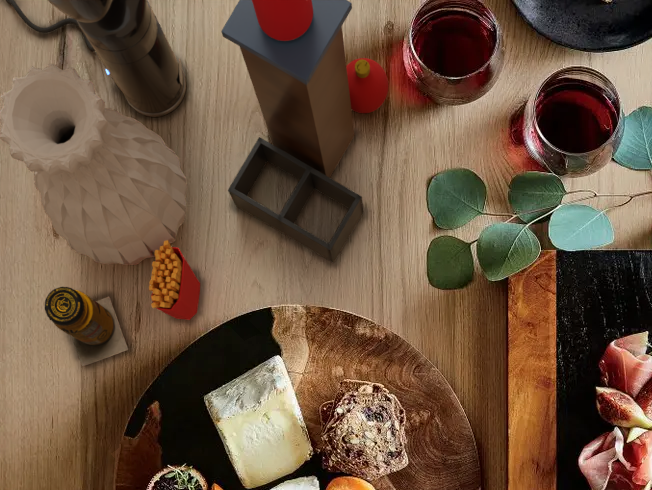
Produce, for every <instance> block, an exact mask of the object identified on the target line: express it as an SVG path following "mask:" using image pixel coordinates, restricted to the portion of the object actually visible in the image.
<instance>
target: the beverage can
mask: <svg viewBox="0 0 652 490" xmlns="http://www.w3.org/2000/svg"><path fill="white" fill-rule="evenodd" d="M252 2H253V6H254V9H255V13H256V16H257V19H258V23H259V25H260V27H261V29H262V30H263V31H264V32H265V33H266V34H267V35H268V36H270V37H271V38H273V39H276V40H280V41H289V40H294V39H296V38H298V37H300V36H301V35H303V34H304V33H305V32H306V31H307V29H308V28H309V26H310V24H311V22H312V18H313V6H312V0H252Z"/></svg>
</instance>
